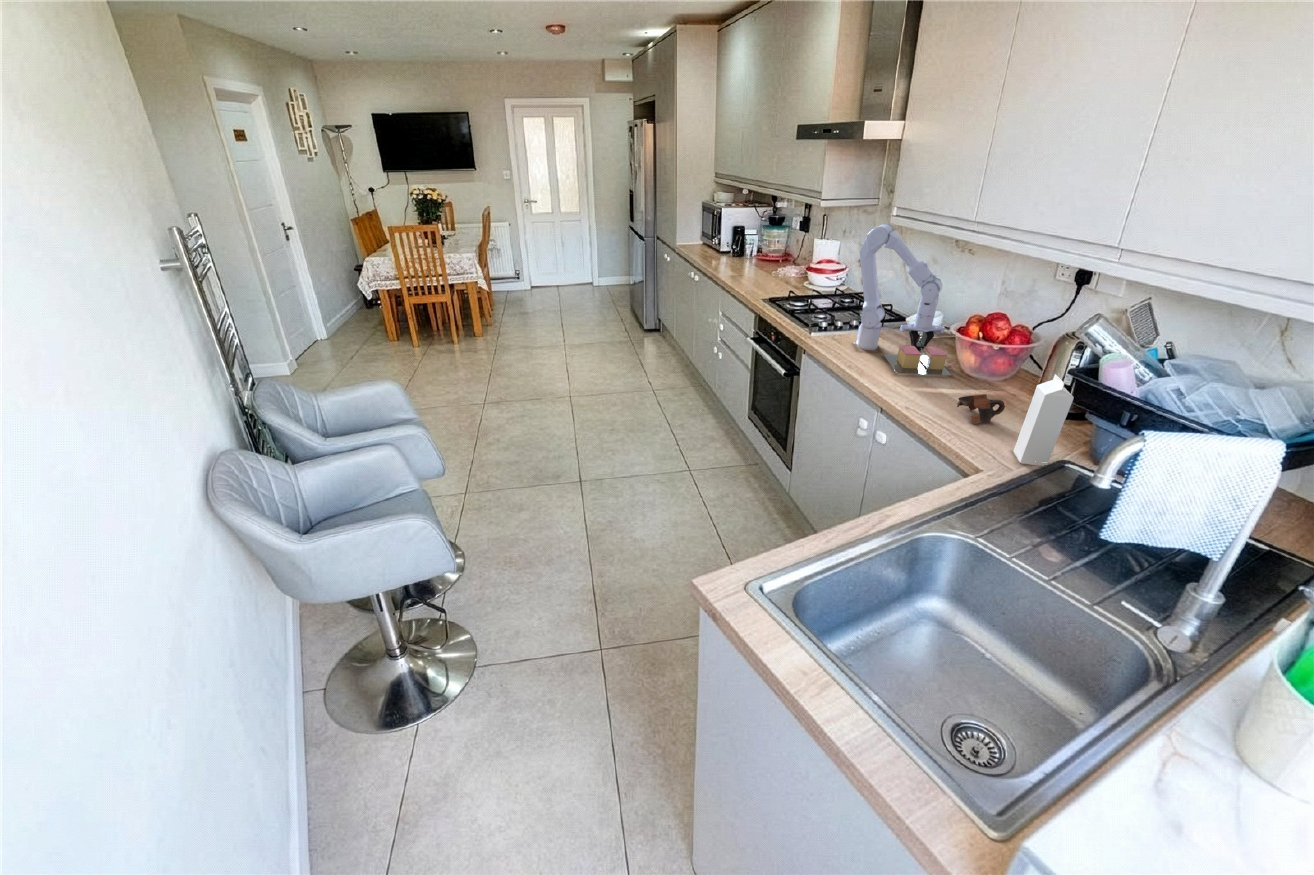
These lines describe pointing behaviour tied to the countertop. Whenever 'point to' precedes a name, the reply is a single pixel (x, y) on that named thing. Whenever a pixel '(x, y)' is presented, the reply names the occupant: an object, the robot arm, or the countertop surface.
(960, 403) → the pottery mug
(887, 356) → the board
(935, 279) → the robot arm
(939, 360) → the cake slice
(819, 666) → the countertop surface
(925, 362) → the knife
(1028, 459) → the milk
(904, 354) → the cake half
